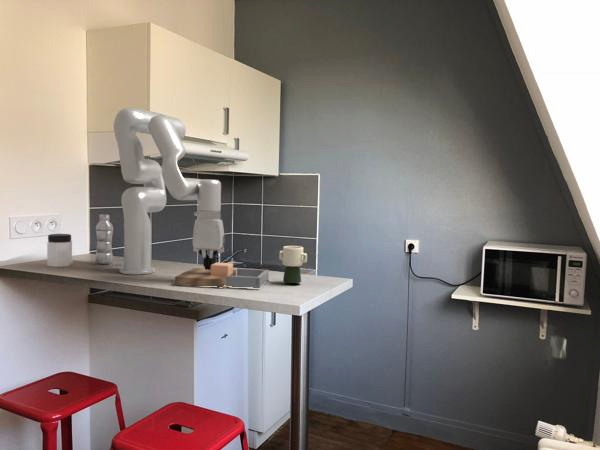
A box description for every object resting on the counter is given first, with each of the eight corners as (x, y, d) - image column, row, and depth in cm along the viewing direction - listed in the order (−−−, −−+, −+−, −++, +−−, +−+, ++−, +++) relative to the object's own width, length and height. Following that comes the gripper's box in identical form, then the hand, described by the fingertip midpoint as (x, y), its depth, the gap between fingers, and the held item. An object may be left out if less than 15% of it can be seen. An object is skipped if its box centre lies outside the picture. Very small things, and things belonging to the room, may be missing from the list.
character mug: (310, 284, 175) (312, 247, 174) (301, 287, 168) (302, 249, 168) (283, 280, 180) (284, 244, 179) (273, 283, 174) (274, 246, 173)
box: (225, 288, 164) (226, 276, 163) (237, 279, 179) (237, 268, 179) (259, 290, 162) (259, 277, 162) (268, 281, 178) (268, 269, 178)
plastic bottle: (97, 262, 205) (97, 213, 203) (114, 262, 206) (115, 214, 204) (93, 265, 198) (93, 214, 197) (110, 265, 199) (111, 215, 198)
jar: (52, 263, 199) (52, 233, 198) (73, 263, 201) (73, 233, 200) (44, 267, 190) (44, 235, 190) (67, 267, 192) (67, 236, 191)
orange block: (210, 275, 169) (210, 265, 169) (216, 272, 175) (216, 262, 175) (227, 276, 168) (228, 266, 168) (232, 273, 174) (233, 263, 174)
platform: (174, 285, 164) (175, 276, 164) (192, 276, 182) (192, 268, 182) (222, 288, 163) (222, 279, 162) (235, 278, 181) (236, 270, 180)
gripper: (184, 215, 168) (183, 269, 169) (227, 217, 166) (226, 272, 167) (191, 214, 175) (191, 266, 177) (233, 216, 173) (232, 268, 175)
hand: (208, 268), depth 172 cm, fingers closed
